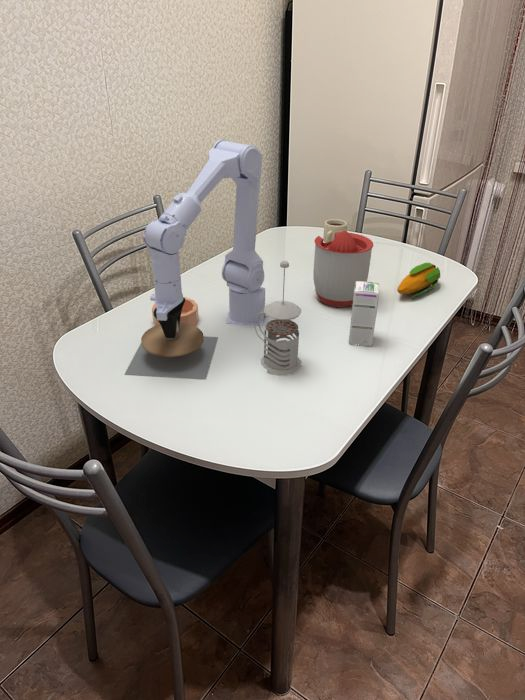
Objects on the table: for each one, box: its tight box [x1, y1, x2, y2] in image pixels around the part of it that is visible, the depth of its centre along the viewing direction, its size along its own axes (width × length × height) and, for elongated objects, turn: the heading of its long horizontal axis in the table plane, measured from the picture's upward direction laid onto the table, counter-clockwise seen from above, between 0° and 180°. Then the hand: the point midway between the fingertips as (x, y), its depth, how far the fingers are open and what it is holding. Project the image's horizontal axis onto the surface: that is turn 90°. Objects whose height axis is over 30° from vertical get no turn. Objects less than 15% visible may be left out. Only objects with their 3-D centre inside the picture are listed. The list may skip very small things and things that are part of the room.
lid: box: [140, 320, 204, 357], centre depth 117 cm, size 14×14×5 cm
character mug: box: [322, 218, 348, 243], centre depth 167 cm, size 11×7×13 cm, turn 148°
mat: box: [124, 335, 219, 381], centre depth 120 cm, size 18×18×1 cm
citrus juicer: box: [312, 230, 374, 308], centre depth 143 cm, size 16×17×20 cm
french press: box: [253, 259, 302, 376], centre depth 113 cm, size 10×12×25 cm
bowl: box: [151, 296, 199, 327], centre depth 133 cm, size 11×11×4 cm
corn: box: [396, 262, 441, 299], centre depth 150 cm, size 7×8×20 cm
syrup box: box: [348, 281, 380, 347], centre depth 124 cm, size 6×6×14 cm
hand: (172, 333), depth 117 cm, fingers closed on lid, 3 cm apart
